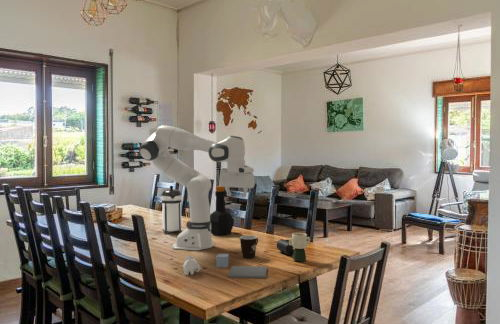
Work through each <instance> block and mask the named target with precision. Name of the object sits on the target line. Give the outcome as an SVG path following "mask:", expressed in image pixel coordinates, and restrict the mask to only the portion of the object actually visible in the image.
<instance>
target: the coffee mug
mask: <svg viewBox="0 0 500 324" xmlns="http://www.w3.org/2000/svg"><path fill="white" fill-rule="evenodd" d="M239 242H240V249H241V257H242V258H243V259H246V260H248V259H249V260H251V259H255V258H256V252H257V251H256V249H257V245H258V244H259V238H258V236H255V235H252V234H251V235H250V234H249V235H248V234H247V235H241V236H240V237H239Z"/></svg>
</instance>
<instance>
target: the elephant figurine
mask: <svg viewBox="0 0 500 324" xmlns="http://www.w3.org/2000/svg"><path fill="white" fill-rule="evenodd" d="M180 266H181V267H182V269H183V273H184V275H185V276H188V275H194V274H195V271H196V272H197V273H198V272H200V270H203V268H202V267H203V266H202V265H200V264H199V263H198V261H197V259H195V258H194V256H192V255H191V254H190V255H187V256H186V257H185V259H184V263H183V264H180Z"/></svg>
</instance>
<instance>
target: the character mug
mask: <svg viewBox="0 0 500 324" xmlns="http://www.w3.org/2000/svg"><path fill="white" fill-rule="evenodd" d="M288 240H289V245H292V246H293V249H294V254H293V256H292V260H294V261H296V262H304V261H306V260H307V256H306V250H305V249H307V247H308V246H307V245H308V244H309V245H310V241H311V238H310V236H308V234H307V233H306V232H293V233H292V234H291V238H289V239H288ZM291 242H292V243H291Z"/></svg>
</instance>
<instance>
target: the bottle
mask: <svg viewBox="0 0 500 324" xmlns="http://www.w3.org/2000/svg"><path fill="white" fill-rule="evenodd" d="M214 194H215V195H214V196H215V197H216V199H215V210H214V211H212V212H210V221H211V235H212V236H227V235H230V234H231V233H232V230H233V228H234V225H235V222H234V221H235V218H233V216H232V214H231V213H230V212H229V211H227V210H226V200H225V196H226V190H225V187H222V186H220V185H217V186H215V191H214Z"/></svg>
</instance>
